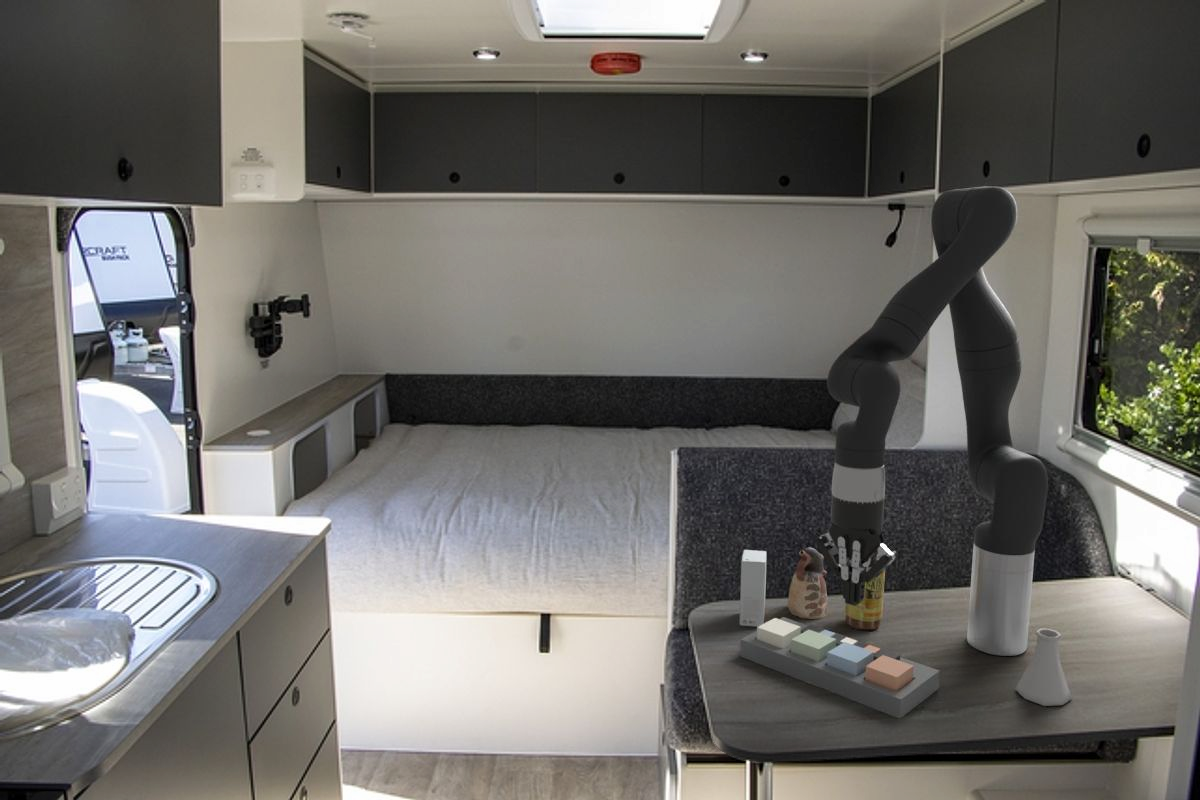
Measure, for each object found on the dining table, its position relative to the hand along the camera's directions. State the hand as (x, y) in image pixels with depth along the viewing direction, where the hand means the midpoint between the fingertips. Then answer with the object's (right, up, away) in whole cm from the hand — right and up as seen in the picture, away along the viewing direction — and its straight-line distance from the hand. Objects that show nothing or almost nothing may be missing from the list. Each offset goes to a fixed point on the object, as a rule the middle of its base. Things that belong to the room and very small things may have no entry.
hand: (852, 603), depth 145 cm
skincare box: (-11, -9, +25) cm, 29 cm away
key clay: (+5, -11, -2) cm, 12 cm away
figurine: (-1, -8, +29) cm, 30 cm away
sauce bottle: (+8, -9, +23) cm, 26 cm away
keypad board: (-1, -12, +6) cm, 13 cm away
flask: (+28, -14, -2) cm, 31 cm away
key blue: (0, -10, +2) cm, 10 cm away
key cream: (-9, -9, +11) cm, 17 cm away
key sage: (-5, -9, +7) cm, 12 cm away
